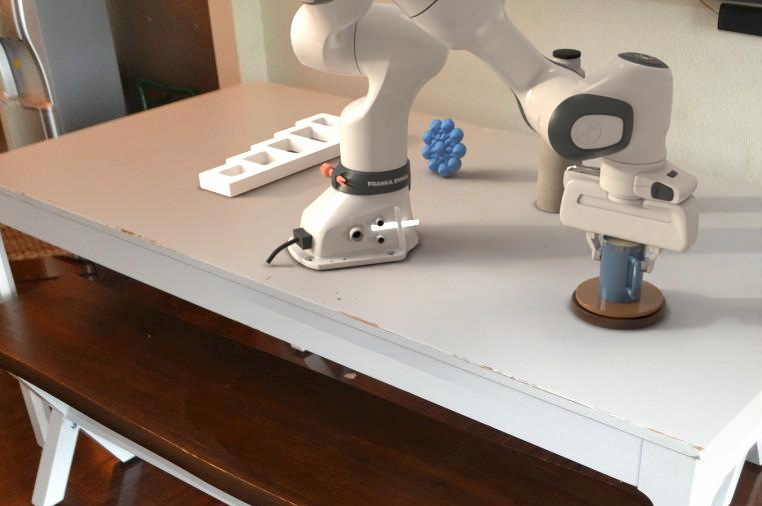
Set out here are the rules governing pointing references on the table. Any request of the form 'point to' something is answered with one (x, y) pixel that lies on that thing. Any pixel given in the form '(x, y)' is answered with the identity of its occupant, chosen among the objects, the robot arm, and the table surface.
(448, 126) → the grapes
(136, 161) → the table surface
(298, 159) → the holder
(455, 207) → the table surface
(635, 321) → the turntable base
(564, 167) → the thermos bottle
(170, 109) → the table surface
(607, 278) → the blue mug on coaster
